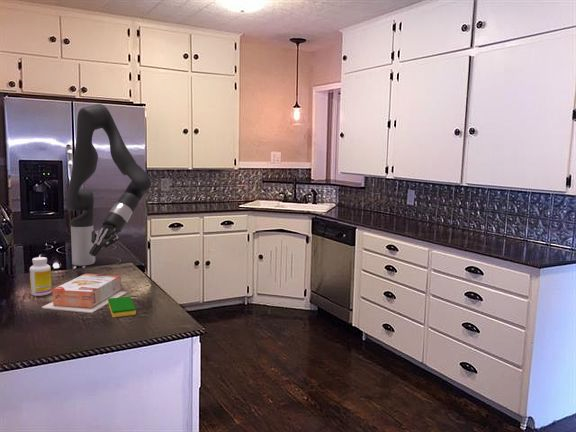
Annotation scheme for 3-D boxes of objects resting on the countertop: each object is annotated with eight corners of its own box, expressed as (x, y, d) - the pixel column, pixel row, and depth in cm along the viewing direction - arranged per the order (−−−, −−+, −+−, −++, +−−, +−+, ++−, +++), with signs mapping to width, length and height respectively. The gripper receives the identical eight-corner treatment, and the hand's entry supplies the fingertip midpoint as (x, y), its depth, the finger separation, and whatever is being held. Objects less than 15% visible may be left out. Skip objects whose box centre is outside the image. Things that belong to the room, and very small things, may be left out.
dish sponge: (112, 318, 151) (112, 311, 150) (108, 305, 163) (107, 298, 162) (136, 315, 154) (136, 308, 153) (130, 302, 166) (129, 295, 166)
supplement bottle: (56, 292, 173) (54, 257, 171) (39, 297, 167) (38, 261, 166) (43, 289, 176) (41, 255, 174) (26, 294, 170) (24, 259, 168)
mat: (82, 289, 178) (82, 287, 178) (127, 293, 175) (126, 291, 175) (41, 308, 157) (41, 307, 157) (91, 313, 154) (91, 311, 154)
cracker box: (121, 273, 176) (91, 291, 155) (121, 289, 177) (92, 309, 156) (85, 272, 178) (51, 288, 157) (85, 287, 178) (52, 306, 158)
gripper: (99, 209, 182) (72, 246, 173) (124, 212, 176) (98, 251, 167) (111, 221, 187) (85, 258, 179) (136, 225, 181) (111, 263, 172)
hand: (92, 254), depth 173 cm, fingers closed
